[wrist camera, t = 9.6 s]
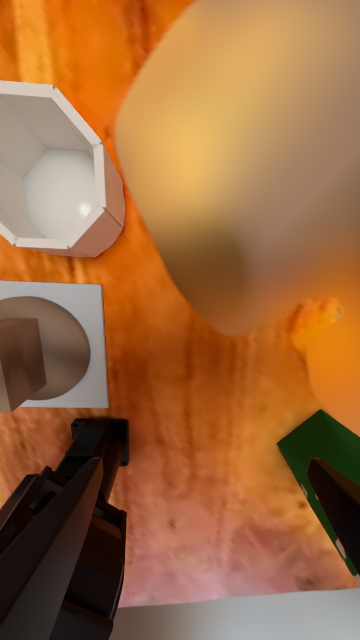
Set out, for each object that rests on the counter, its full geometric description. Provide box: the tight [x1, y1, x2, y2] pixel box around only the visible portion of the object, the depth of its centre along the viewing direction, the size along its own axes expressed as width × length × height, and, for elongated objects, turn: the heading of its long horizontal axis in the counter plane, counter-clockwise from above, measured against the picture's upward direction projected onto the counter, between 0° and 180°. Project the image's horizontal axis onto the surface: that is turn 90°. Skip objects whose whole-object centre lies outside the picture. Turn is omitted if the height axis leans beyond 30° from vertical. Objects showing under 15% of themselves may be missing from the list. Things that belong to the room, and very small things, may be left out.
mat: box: [0, 281, 109, 408], centre depth 18 cm, size 14×14×1 cm
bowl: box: [0, 81, 126, 258], centre depth 13 cm, size 9×9×5 cm
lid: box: [0, 296, 90, 413], centre depth 16 cm, size 11×11×5 cm
